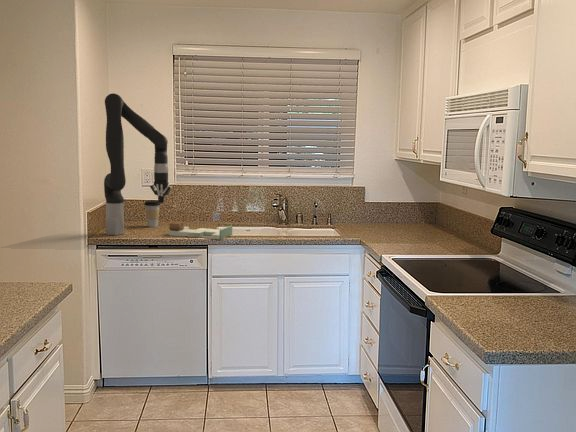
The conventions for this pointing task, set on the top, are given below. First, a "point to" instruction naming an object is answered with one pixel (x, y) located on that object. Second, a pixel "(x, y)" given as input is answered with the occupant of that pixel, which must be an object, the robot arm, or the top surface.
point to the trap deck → (203, 232)
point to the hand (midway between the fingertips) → (161, 202)
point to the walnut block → (176, 226)
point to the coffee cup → (152, 213)
